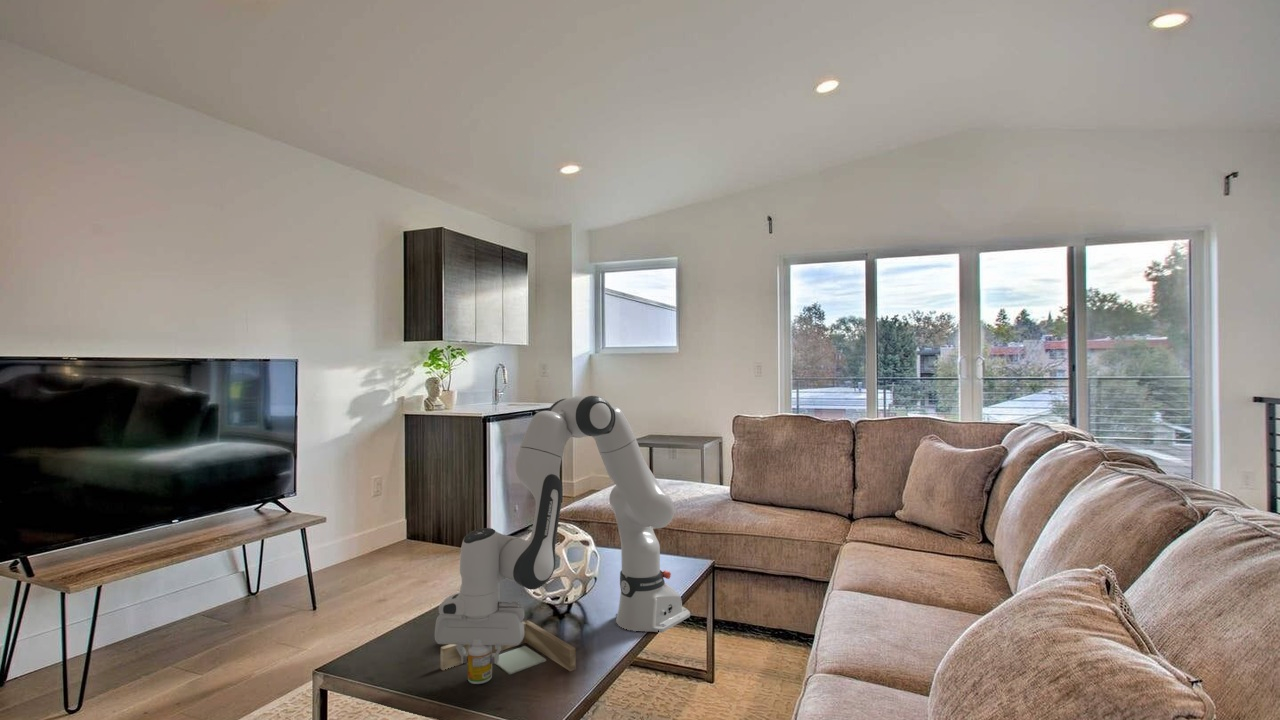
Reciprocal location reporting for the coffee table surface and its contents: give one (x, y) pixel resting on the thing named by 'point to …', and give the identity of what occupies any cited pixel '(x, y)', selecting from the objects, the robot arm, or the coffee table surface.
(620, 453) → the robot arm
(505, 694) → the coffee table surface
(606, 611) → the coffee table surface
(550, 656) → the oak corner walls
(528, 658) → the mat
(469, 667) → the supplement bottle
